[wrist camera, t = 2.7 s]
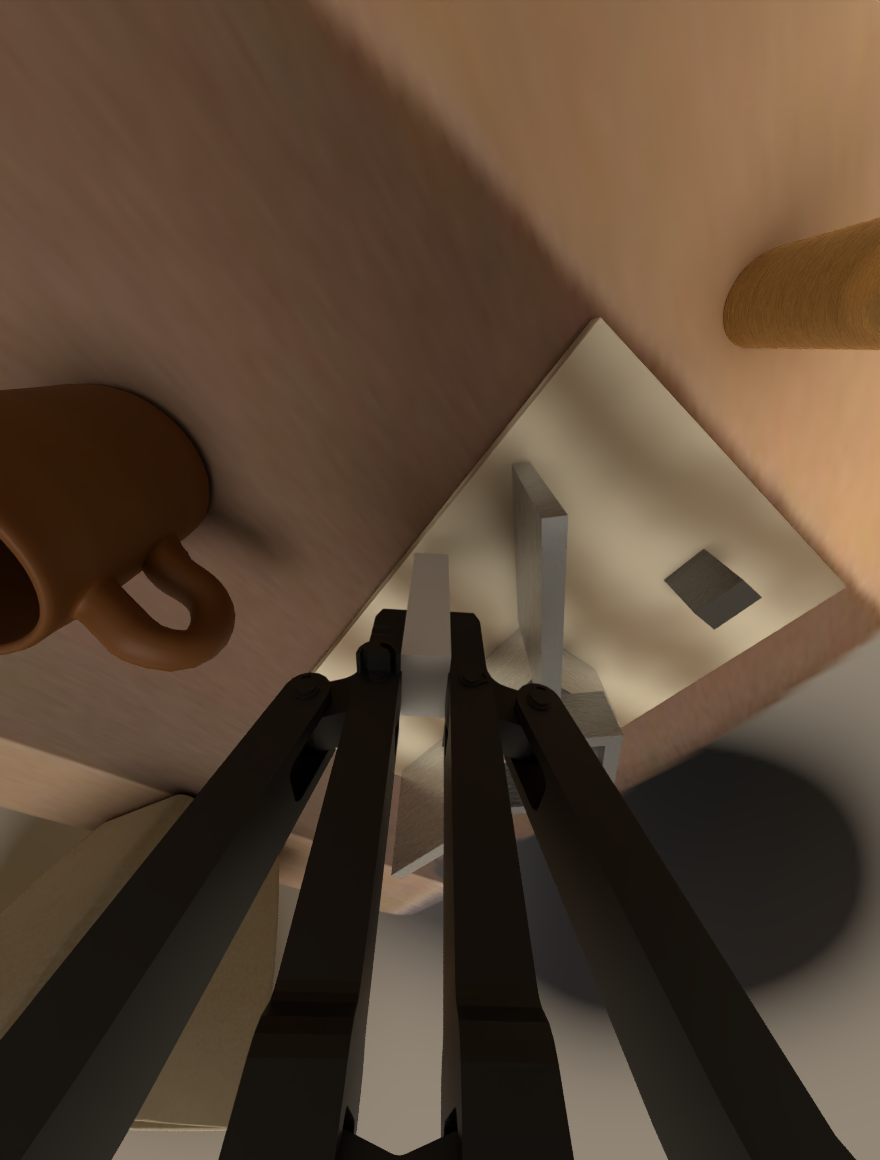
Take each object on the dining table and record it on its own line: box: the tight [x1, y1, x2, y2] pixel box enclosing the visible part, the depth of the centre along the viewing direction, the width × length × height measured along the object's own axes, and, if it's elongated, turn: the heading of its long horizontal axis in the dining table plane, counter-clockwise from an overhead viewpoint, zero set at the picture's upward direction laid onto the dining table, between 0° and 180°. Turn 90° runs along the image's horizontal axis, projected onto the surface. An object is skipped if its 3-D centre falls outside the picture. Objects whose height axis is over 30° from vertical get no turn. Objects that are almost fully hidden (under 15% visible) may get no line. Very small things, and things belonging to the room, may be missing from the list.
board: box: [311, 317, 847, 776], centre depth 24 cm, size 30×20×1 cm, turn 143°
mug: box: [0, 384, 235, 671], centre depth 15 cm, size 12×8×9 cm, turn 50°
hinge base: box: [391, 549, 762, 879], centre depth 22 cm, size 26×6×7 cm, turn 143°
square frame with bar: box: [504, 462, 623, 814], centre depth 18 cm, size 17×6×6 cm, turn 8°
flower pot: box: [0, 794, 279, 1131], centre depth 31 cm, size 19×19×17 cm
